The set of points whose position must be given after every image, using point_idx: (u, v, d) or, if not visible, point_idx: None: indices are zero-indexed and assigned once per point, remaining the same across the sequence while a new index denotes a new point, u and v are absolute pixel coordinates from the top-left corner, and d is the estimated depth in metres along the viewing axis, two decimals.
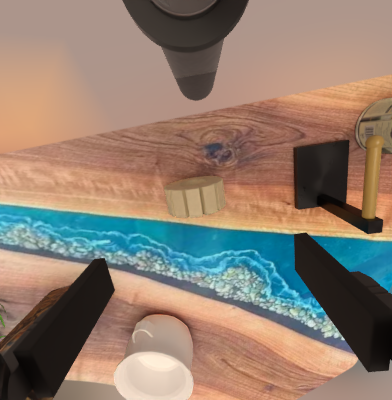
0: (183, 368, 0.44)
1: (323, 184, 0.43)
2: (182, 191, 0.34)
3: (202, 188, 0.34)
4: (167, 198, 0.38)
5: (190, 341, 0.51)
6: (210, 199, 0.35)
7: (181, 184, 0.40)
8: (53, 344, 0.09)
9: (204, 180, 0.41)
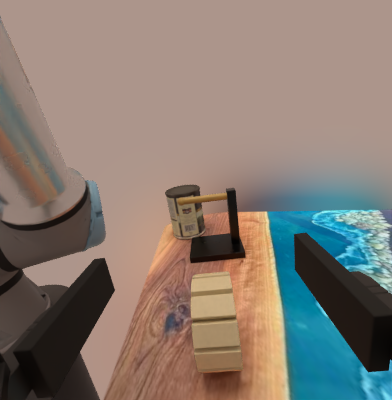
0: None
1: (222, 242, 0.53)
2: (192, 297, 0.25)
3: (194, 278, 0.28)
4: (208, 338, 0.22)
5: None
6: (210, 274, 0.29)
7: None
8: (53, 344, 0.09)
9: None
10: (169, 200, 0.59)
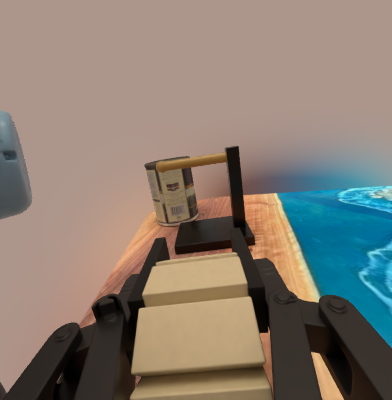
0: None
1: (221, 226, 0.38)
2: None
3: (159, 265, 0.13)
4: None
5: None
6: None
7: None
8: None
9: None
10: (149, 173, 0.44)
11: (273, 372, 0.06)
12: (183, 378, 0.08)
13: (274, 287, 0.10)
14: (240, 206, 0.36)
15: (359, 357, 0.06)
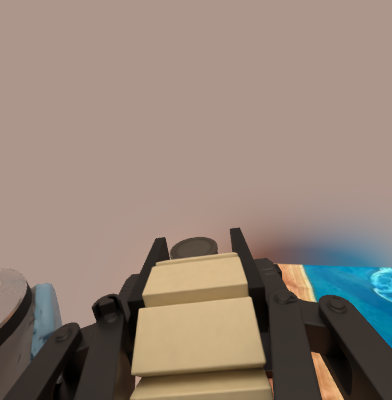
0: None
1: None
2: None
3: (160, 266, 0.13)
4: None
5: None
6: None
7: None
8: None
9: None
10: None
11: (273, 372, 0.06)
12: (183, 379, 0.08)
13: (274, 287, 0.10)
14: None
15: (359, 357, 0.06)
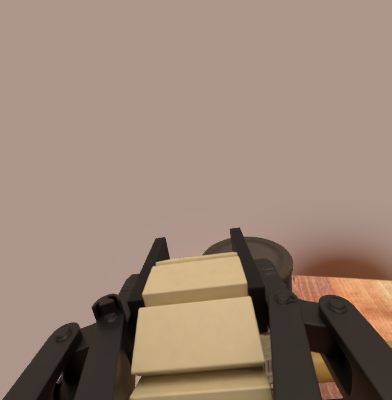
0: None
1: None
2: None
3: (159, 265, 0.13)
4: None
5: None
6: (196, 256, 0.14)
7: None
8: None
9: None
10: None
11: (273, 372, 0.06)
12: (183, 378, 0.08)
13: (274, 287, 0.10)
14: None
15: (359, 357, 0.06)
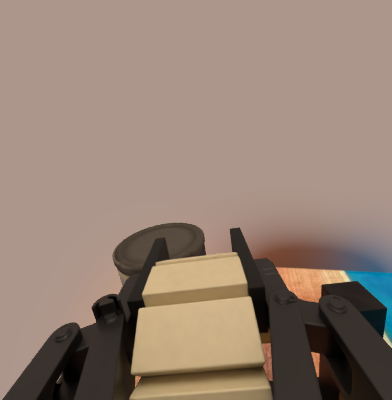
0: None
1: None
2: None
3: (159, 265, 0.13)
4: None
5: None
6: None
7: None
8: None
9: None
10: (122, 277, 0.21)
11: (273, 372, 0.06)
12: (183, 378, 0.08)
13: (274, 287, 0.10)
14: None
15: (359, 357, 0.06)
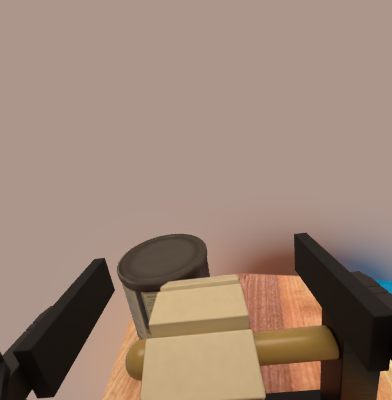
0: None
1: None
2: None
3: (164, 290, 0.13)
4: None
5: None
6: (199, 280, 0.14)
7: None
8: (53, 344, 0.09)
9: None
10: (126, 291, 0.21)
11: None
12: None
13: None
14: None
15: None
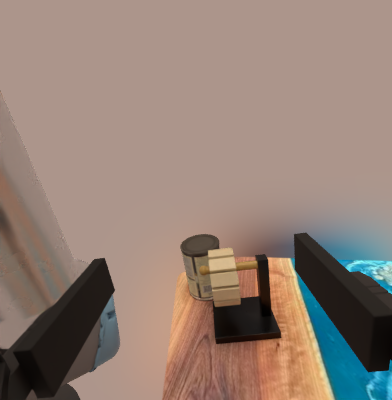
0: None
1: (250, 312, 0.46)
2: (209, 260, 0.41)
3: (209, 251, 0.44)
4: (220, 281, 0.38)
5: None
6: None
7: None
8: (53, 344, 0.09)
9: None
10: (186, 257, 0.52)
11: None
12: (219, 272, 0.39)
13: None
14: (267, 301, 0.44)
15: None
